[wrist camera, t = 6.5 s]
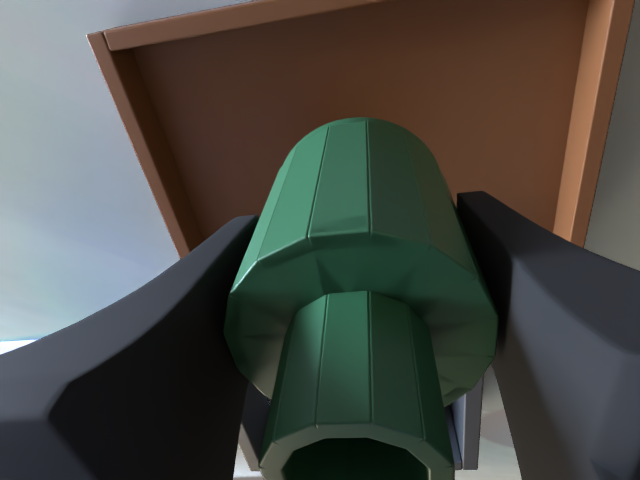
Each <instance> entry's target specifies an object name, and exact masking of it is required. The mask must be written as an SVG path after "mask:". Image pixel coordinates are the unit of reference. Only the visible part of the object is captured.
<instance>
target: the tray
mask: <svg viewBox="0 0 640 480" xmlns="http://www.w3.org/2000/svg"><path fill="white" fill-rule="evenodd" d="M634 3H635V0H255V1H250V2H245V3H240V4H234V5H229V6H224V7H219V8H213V9H208V10H203V11H198V12H193V13H187V14H182V15H177V16H172V17H167V18H161V19H156V20H151V21H146V22H141V23H135V24H130V25H125V26H120V27H115V28H111V29H107V30H103V31H99V32H95V33H91V34H88V35H86V37H87V39H88V42H89V44H90V46H91V49H92V51H93V54H94V56H95V58H96V61H97V63H98V65H99V68H100V70H101V73H102V75H103V77H104V80H105V82H106V84H107V87H108V89H109V91H110V94H111V96H112V99H113V101H114V103H115V106H116V108H117V110H118V113H119V115H120V117H121V120H122V122H123V125H124V127H125V129H126V132H127V134H128V136H129V139H130V141H131V144H132V146H133V148H134V151H135V153H136V155H137V158H138V160H139V162H140V165H141V167H142V170H143V172H144V174H145V177H146V179H147V181H148V184H149V186H150V188H151V191H152V193H153V196H154V198H155V200H156V203H157V205H158V207H159V210H160V212H161V215H162V217H163V219H164V222H165V224H166V226H167V229H168V231H169V233H170V236H171V238H172V241H173V243H174V245H175V248H176V250H177V252H178V255H179V257H180V259H182V258H183V257H185V256H186V255H187V254H189V253H190V252H191V251H193V250H194V249H195V248H196V247H198V246H199V245H200V244H201V243H203V242H204V241H205V240H206V239H208V238H209V237H210V236H211V235H213V234H214V233H215V232H216V231H218V230H219V229H220V228H221V227H223V226H224V225H225V224H227V223H228V222H229V221H231V220H232V219H234V218H236V217H240V216H249V215H258V216H259V219H260V216H261V214H262V211H263V209H264V206H265V204H266V201H267V199H268V196H269V194H270V191H271V189H272V186H273V184H274V181H275V179H276V176H277V174H278V172H279V170H280V168H281V167H282V166H283V163H284V161H285V159H286V158H287V156H288V155H289V153H290V151H291V150H292V149H293V148H294V147H295V145H296V144H297V143H298V142H299V141H300V140H301V139H303V138H304V137H305V136H306V135H308V134H309V133H310V132H312V131H313V130H315V129H317V128H319V127H321V126H323V125H325V124H328V123H330V122H333V121H336V120H341V119H346V118H355V117H368V118H376V119H382V120H386V121H389V122H392V123H395V124H397V125H399V126H401V127H403V128H405V129H407V130H409V131H410V132H412V133H413V134H415V135H416V136H417V137H418V138H419V139H420V140H422V141H423V142H424V143H425V145H426V146H427V147H428V148H429V149H430V151H431V152H432V154H433V155H434V157H435V159H436V160H437V163H438V165H439V167H440V170H441V172H442V174H443V176H444V178H445V180H446V182H447V185H448V187H449V190H450V192H451V195H452V197H453V200H454V202H455V205H456V207H457V193H464V192H473V191H484V192H486V193H488V194H490V195H491V196H493V197H494V198H496V199H497V200H499V201H501V202H502V203H504V204H505V205H507V206H508V207H510V208H511V209H513V210H515V211H516V212H518V213H519V214H521V215H523V216H524V217H526V218H528V219H529V220H531V221H533V222H534V223H536V224H538V225H539V226H541V227H543V228H545V229H547V230H548V231H550V232H552V233H554V234H556V235H558V236H560V237H562V238H564V239H566V240H567V241H569V242H571V243H573V244H575V245H578V246H580V247H582V248H584V245H585V240H586V235H587V230H588V225H589V221H590V216H591V211H592V206H593V201H594V196H595V192H596V187H597V182H598V177H599V172H600V167H601V163H602V158H603V153H604V148H605V143H606V138H607V133H608V129H609V124H610V119H611V114H612V109H613V104H614V100H615V95H616V90H617V85H618V80H619V75H620V71H621V66H622V61H623V56H624V51H625V46H626V42H627V37H628V32H629V27H630V22H631V17H632V13H633V8H634Z"/></svg>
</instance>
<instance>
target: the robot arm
mask: <svg viewBox="0 0 640 480" xmlns="http://www.w3.org/2000/svg"><path fill="white" fill-rule="evenodd" d="M457 210H458V213H459V216H460V218H461V221H462V223H463V226H464V228H465V231H466V233H467V235H468V238H469V241H470V243H471V246H472V248H473V251H474V253H475V256H476V258H477V261H478V263H479V266H480V269H481V271H482V274H483V276H484V279H485V281H486V284H487V286H488V289H489V291H490V294H491V297H492V299H493V302H494V304H495V307H496V309H497V312H498V316H499V324H498V336H497V348H496V355H495V358H494V360H493V361H492V362H491V364H492V367H493V370H494V373H495V376H496V379H497V383H498V386H499V390H500V394H501V398H502V401H503V405H504V409H505V413H506V416H507V420H508V424H509V428H510V432H511V436H512V440H513V444H514V448H515V452H516V456H517V460H518V464H519V468H520V473H521V477H522V480H640V271H639V270H636V269H633V268H630V267H628V266H625V265H622V264H620V263H617V262H615V261H612V260H610V259H607V258H605V257H603V256H600V255H598V254H596V253H593V252H591V251H588V250H586V249H584V248H582V247H580V246H578V245H575V244H573V243H571V242H569V241H567V240H566V239H564V238H562V237H560V236H558V235H556V234H554V233H552V232H550V231H548V230H547V229H545V228H543V227H541V226H539V225H538V224H536V223H534V222H533V221H531V220H529V219H528V218H526V217H524V216H523V215H521V214H519V213H518V212H516V211H515V210H513V209H511V208H510V207H508V206H507V205H505V204H504V203H502V202H501V201H499V200H497V199H496V198H494V197H493V196H491V195H490V194H488V193H486V192H484V191H473V192H464V193H457ZM258 221H259V216H258V215H249V216H240V217H236V218H234V219H232V220H231V221H229V222H228V223H227V224H225V225H224V226H223V227H221V228H220V229H219V230H218V231H216V232H215V233H214V234H213V235H211V236H210V237H209V238H208V239H206V240H205V241H204V242H203V243H201V244H200V245H199V246H198V247H196V248H195V249H194V250H193V251H191V252H190V253H189V254H187V255H186V256H185V257H183V258H182V259H181V260H179V261H178V262H177V263H175V264H174V265H173V266H171V267H170V268H168V269H167V270H166V271H164V272H163V273H162V274H160V275H159V276H157V277H156V278H154V279H153V280H152V281H150V282H148V283H147V284H145V285H144V286H142V287H141V288H139V289H137V290H136V291H134V292H132V293H131V294H129V295H127V296H126V297H124V298H122V299H121V300H119V301H117V302H115V303H113V304H112V305H110V306H108V307H106V308H104V309H102V310H100V311H98V312H96V313H94V314H92V315H90V316H88V317H87V318H85V319H83V320H81V321H79V322H77V323H75V324H72V325H70V326H68V327H66V328H64V329H61V330H59V331H57V332H55V333H53V334H50V335H48V336H46V337H43V338H41V339H38V340H26V341H10V342H0V480H233V474H234V466H235V459H236V453H237V446H238V440H239V433H240V427H241V421H242V415H243V410H244V404H245V398H246V393H247V388H248V384H249V380H248V379H247V378H246V377H245V376H244V375H243V374H242V373H241V372H240V371H239V370H238V368H237V367H236V364H235V362H234V359H233V357H232V354H231V352H230V349H229V347H228V344H227V342H226V339H225V337H224V332H223V330H224V323H225V316H226V309H227V302H228V296H229V293H230V291H231V288H232V286H233V283H234V281H235V278H236V276H237V273H238V271H239V268H240V266H241V263H242V261H243V258H244V256H245V253H246V251H247V248H248V246H249V243H250V241H251V238H252V236H253V233H254V231H255V229H256V226H257V224H258Z"/></svg>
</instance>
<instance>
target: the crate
mask: <svg viewBox="0 0 640 480" xmlns="http://www.w3.org/2000/svg"><path fill="white" fill-rule="evenodd" d="M483 379H484V374H483V375H482V377H481V378H480V380H479V381H478V382H477V384H476V385H475V387H474V388H473V389H472V390H471V391H469V392H468V393H466V394H465V395H463V396H461V397H460V398H458V399H457V400H455V401H454V402H452V403H451V406H450V405H447V406H446V407H444V409H445V415H446V420H447V425H448V431H449V436H450V442H451V447H452V452H453V458H454V463H455V470H461V469H463V470H477V469H478V455H479V440H480V424H481V409H482V394H483ZM269 409H270V405H269V403H268V400H267V397H266V396H265V395H264V394H263V393H262V392H261V391H260V390H259V389H258V388H257V387H256V386H255V385H254V384H252V383H251V382H250V381H249V384H248V388H247V393H246V398H245V404H244V410H243V415H242V421H241V427H240V433H239V440H238V444H239V446H240V449H241V451H242V453H243V455H244V457H245V459H246V461H247V464H248V466H249V468H250V470H251V471H260V470H259V467H258V465H259V464H258V462H259V457H260V452H261V448H262V443H263V438H264V433H265V428H266V424H267V419H268V414H269Z"/></svg>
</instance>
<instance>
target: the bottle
mask: <svg viewBox="0 0 640 480" xmlns="http://www.w3.org/2000/svg"><path fill="white" fill-rule="evenodd" d="M498 324H499V316H498V312H497V309H496V307H495V304H494V302H493V299H492V297H491V294H490V291H489V289H488V286H487V284H486V281H485V279H484V276H483V274H482V271H481V269H480V266H479V263H478V261H477V258H476V256H475V253H474V251H473V248H472V246H471V243H470V241H469V238H468V235H467V233H466V231H465V228H464V226H463V223H462V221H461V218H460V216H459V213H458V210H457V207H456V205H455V202H454V200H453V197H452V195H451V192H450V190H449V187H448V185H447V182H446V180H445V178H444V176H443V174H442V172H441V170H440V167H439V165H438V163H437V160H436V159H435V157H434V155H433V154H432V152H431V151H430V149H429V148H428V147H427V146H426V145H425V143H424V142H423V141H422V140H420V139H419V138H418V137H417V136H416V135H415V134H413V133H412V132H410V131H409V130H407V129H405V128H403V127H401V126H399V125H397V124H395V123H392V122H389V121H386V120H382V119H376V118H368V117H355V118H346V119H341V120H336V121H333V122H330V123H328V124H325V125H323V126H321V127H319V128H317V129H315V130H313V131H312V132H310V133H309V134H308V135H306V136H305V137H304V138H303V139H301V140H300V141H299V142H298V143H297V144H296V145H295V147H294V148H293V149H292V150H291V151H290V153H289V155H288V156H287V158H286V159H285V161H284V163H283V166H282V167H281V168H280V170H279V172H278V174H277V176H276V179H275V181H274V184H273V186H272V189H271V191H270V194H269V196H268V199H267V201H266V204H265V206H264V209H263V211H262V214H261V216H260V219H259V221H258V224H257V226H256V229H255V231H254V233H253V236H252V238H251V241H250V243H249V246H248V248H247V251H246V253H245V256H244V258H243V261H242V263H241V266H240V268H239V271H238V273H237V276H236V278H235V281H234V283H233V286H232V288H231V291H230V293H229V296H228V302H227V309H226V316H225V323H224V330H223V332H224V337H225V339H226V342H227V344H228V347H229V349H230V352H231V354H232V357H233V359H234V362H235V364H236V367H237V368H238V370H239V371H240V372H241V373H242V374H243V375H244V376H245V377H246V378H247V379H248V380H249V381H250V382H251V383H252V384H254V385H255V386H256V387H257V388H258V389H259V390H260V391H261V392H262V393H263V394H264V395H265V396H267V397H268V398H270V399H271V404H270V409H269V414H268V419H267V424H266V428H265V433H264V438H263V443H262V448H261V452H260V457H259V462H258V464H259V465H258V467H259V470H260V472H261V474H262V477H263V479H264V480H455V463H454V458H453V452H452V447H451V442H450V436H449V431H448V425H447V420H446V415H445V409H444V407H446V406H447V405H449V404H450V403H452V402H454V401H455V400H457V399H458V398H460V397H461V396H463V395H465V394H466V393H468V392H469V391H471V390H472V389H473V388H474V387H475V385H476V384H477V382H478V381H479V380H480V378H481V377H482V375H483V374H484V372H485V371H486V370H487V368H488V367H489V365H490V364H491V362H492V361H493V360H494V358H495V355H496V348H497V336H498Z"/></svg>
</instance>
